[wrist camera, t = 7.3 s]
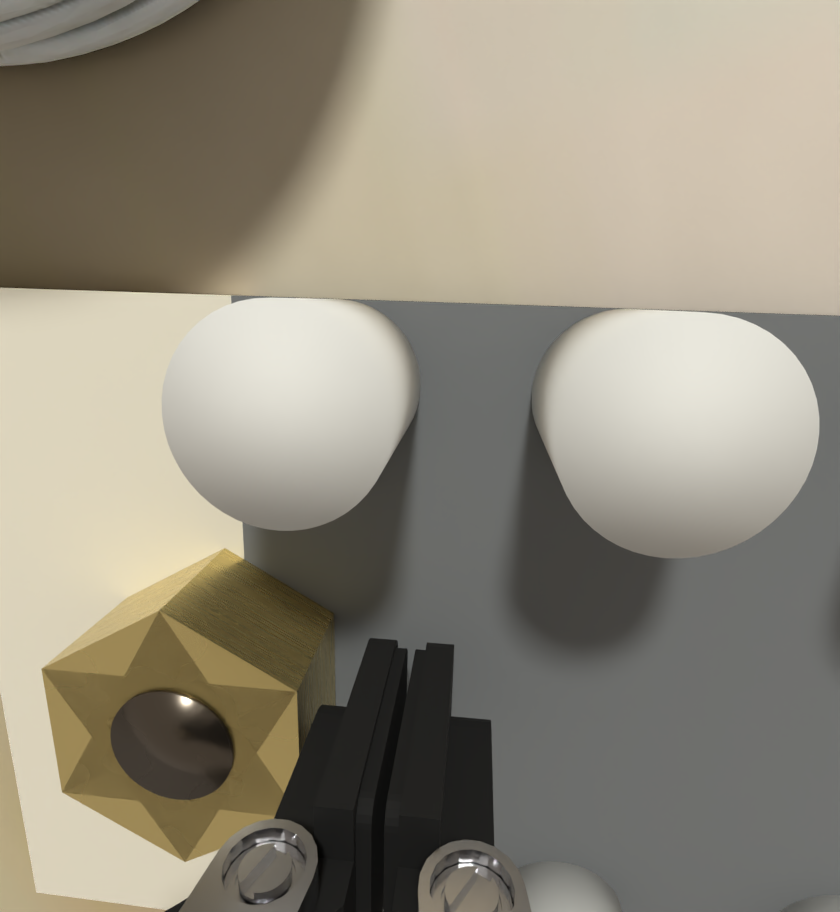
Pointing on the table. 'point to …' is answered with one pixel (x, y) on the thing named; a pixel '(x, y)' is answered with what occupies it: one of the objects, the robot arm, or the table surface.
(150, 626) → the nut
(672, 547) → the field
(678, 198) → the table surface
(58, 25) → the cable
